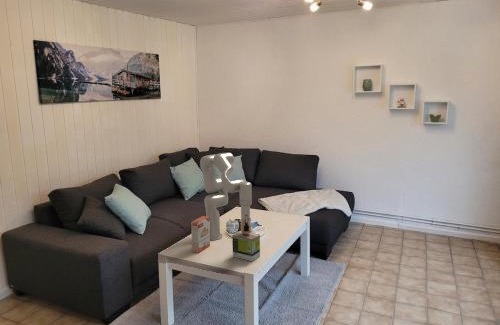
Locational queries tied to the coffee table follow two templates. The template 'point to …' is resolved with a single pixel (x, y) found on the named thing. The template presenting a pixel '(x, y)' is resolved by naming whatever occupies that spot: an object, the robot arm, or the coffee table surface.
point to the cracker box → (200, 234)
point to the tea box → (246, 246)
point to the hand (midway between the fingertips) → (245, 229)
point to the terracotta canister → (243, 227)
